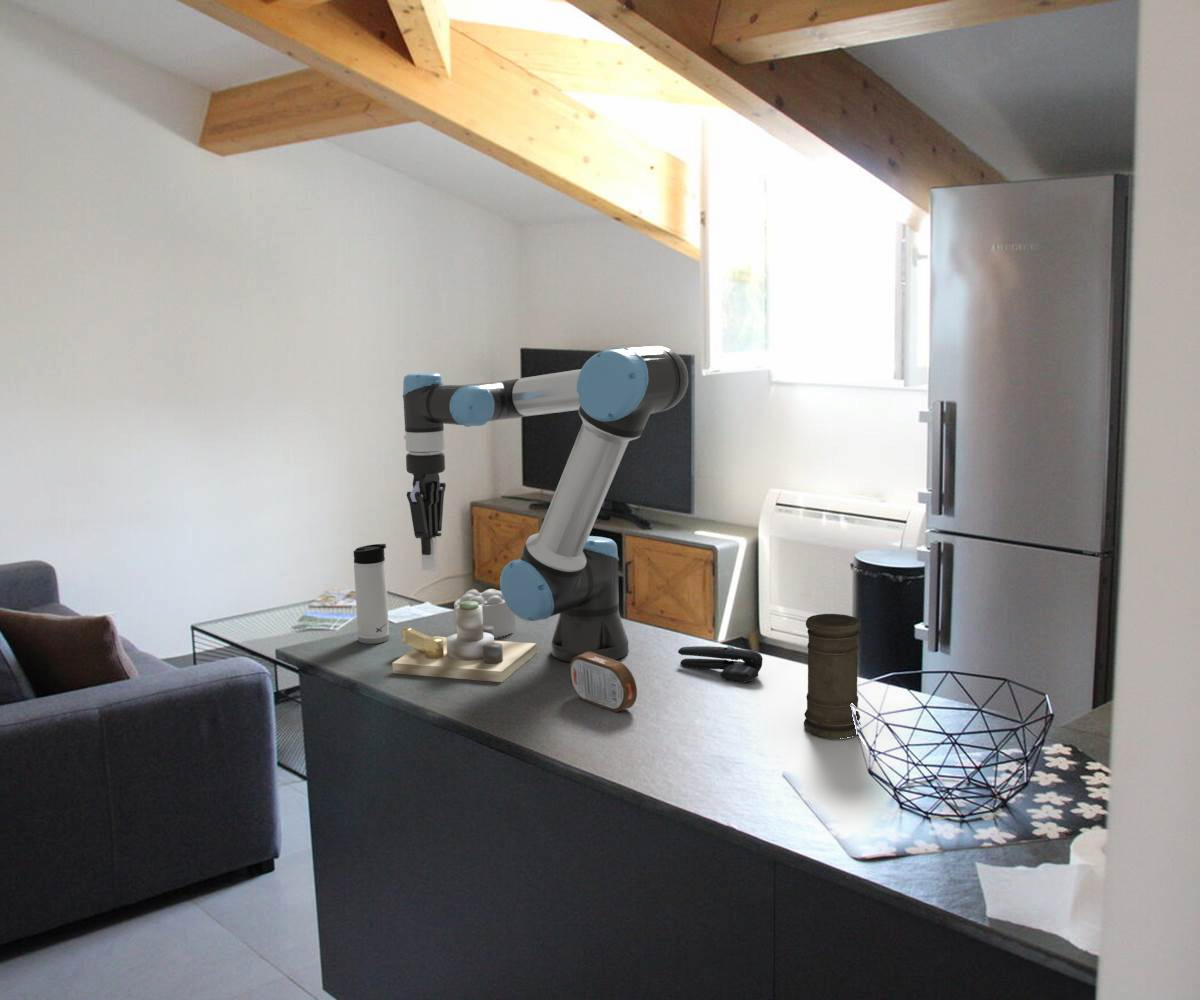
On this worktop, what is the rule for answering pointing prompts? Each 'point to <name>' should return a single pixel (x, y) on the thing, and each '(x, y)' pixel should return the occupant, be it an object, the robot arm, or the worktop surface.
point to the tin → (603, 681)
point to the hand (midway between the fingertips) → (429, 569)
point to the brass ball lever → (423, 642)
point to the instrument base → (466, 667)
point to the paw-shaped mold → (492, 611)
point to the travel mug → (371, 594)
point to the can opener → (725, 661)
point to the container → (832, 675)
